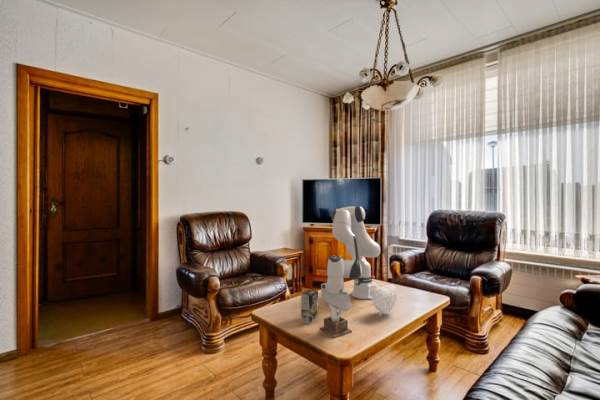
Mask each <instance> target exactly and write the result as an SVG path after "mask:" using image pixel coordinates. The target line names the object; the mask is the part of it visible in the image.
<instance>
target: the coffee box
mask: <svg viewBox="0 0 600 400" xmlns="http://www.w3.org/2000/svg"><path fill="white" fill-rule="evenodd" d="M300 295H301V296H300V298H301V302H300V322H302V323H305V324H308V325H311V324H312V323H314V322H315V321H317V319H318V318H319V291H318V290H313V289H307V290H305V291H303V292H302V293H301V294H300ZM318 320H319V319H318Z"/></svg>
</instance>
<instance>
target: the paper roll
mask: <svg viewBox="0 0 600 400" xmlns="http://www.w3.org/2000/svg"><path fill="white" fill-rule="evenodd" d="M338 311H339V310H338V308H337V307H335V306H333V305H331V312H330V316H331V322H333V323H337V322H339V316H338V315H337V312H338Z"/></svg>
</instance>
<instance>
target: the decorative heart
mask: <svg viewBox="0 0 600 400" xmlns="http://www.w3.org/2000/svg"><path fill="white" fill-rule="evenodd" d="M376 291H377V292H376ZM378 291H379V292H378ZM376 294H378V295H376ZM381 294H382V295H381ZM374 298H375V299H374ZM397 299H398V291H397V288H396V287H395V286H394V285H392V284H386V285H383V286H379V287H376V288H375V289H374V290H373V292H372V300H371V301H372V303H373V304H372V305H373V306H374V307H375V309H376V310H377V311H378V312H379V313H380V316H382V314H383V315H384V316H386V315H388V314H389V313H391V311H392V310H393V309H394V307H395V305H396V303H397Z"/></svg>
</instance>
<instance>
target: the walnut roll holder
mask: <svg viewBox="0 0 600 400" xmlns="http://www.w3.org/2000/svg"><path fill="white" fill-rule="evenodd" d="M319 330H320V331H322V332H323V333H325V334H327V335H328V336H330V337H331V338H332V339H336V338H340V337H342V336H345V335H348V334H351V333H353V332H352V329H349V328H348V319H346V318H344V317H342V316H339V322H337V323H333V322H331V315H330V316H327V317H325V318H323V326H320V327H319Z"/></svg>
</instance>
